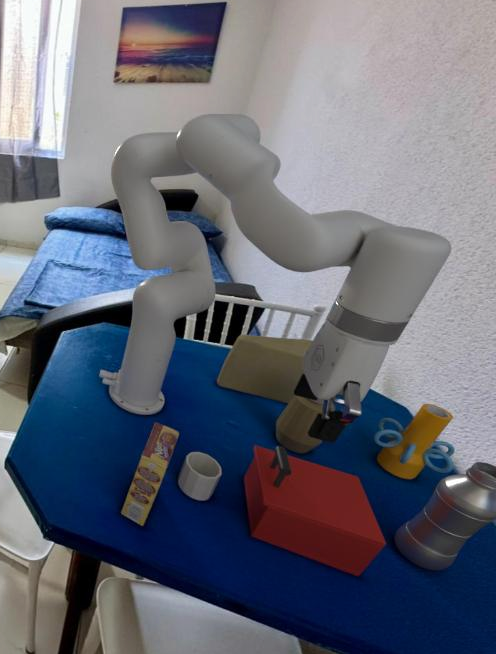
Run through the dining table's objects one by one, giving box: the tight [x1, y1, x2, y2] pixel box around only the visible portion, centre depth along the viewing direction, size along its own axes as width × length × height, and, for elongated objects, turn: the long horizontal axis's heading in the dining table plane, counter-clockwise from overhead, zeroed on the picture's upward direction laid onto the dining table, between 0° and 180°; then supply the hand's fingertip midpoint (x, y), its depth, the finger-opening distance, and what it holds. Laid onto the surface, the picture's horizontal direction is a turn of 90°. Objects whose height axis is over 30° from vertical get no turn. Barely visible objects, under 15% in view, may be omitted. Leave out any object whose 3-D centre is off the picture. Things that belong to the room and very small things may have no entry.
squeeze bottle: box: [275, 395, 336, 454], centre depth 82 cm, size 8×8×18 cm
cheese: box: [216, 334, 313, 405], centre depth 97 cm, size 22×10×15 cm, turn 75°
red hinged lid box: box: [243, 456, 384, 577], centre depth 69 cm, size 15×13×8 cm
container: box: [177, 451, 223, 501], centre depth 75 cm, size 6×6×6 cm
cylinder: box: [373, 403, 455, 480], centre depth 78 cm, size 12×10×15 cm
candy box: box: [120, 422, 180, 527], centre depth 69 cm, size 9×4×15 cm, turn 145°
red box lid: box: [252, 444, 387, 548], centre depth 66 cm, size 15×13×5 cm
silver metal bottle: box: [393, 461, 496, 571], centre depth 61 cm, size 6×7×20 cm
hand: (312, 416), depth 62 cm, fingers open, 9 cm apart
